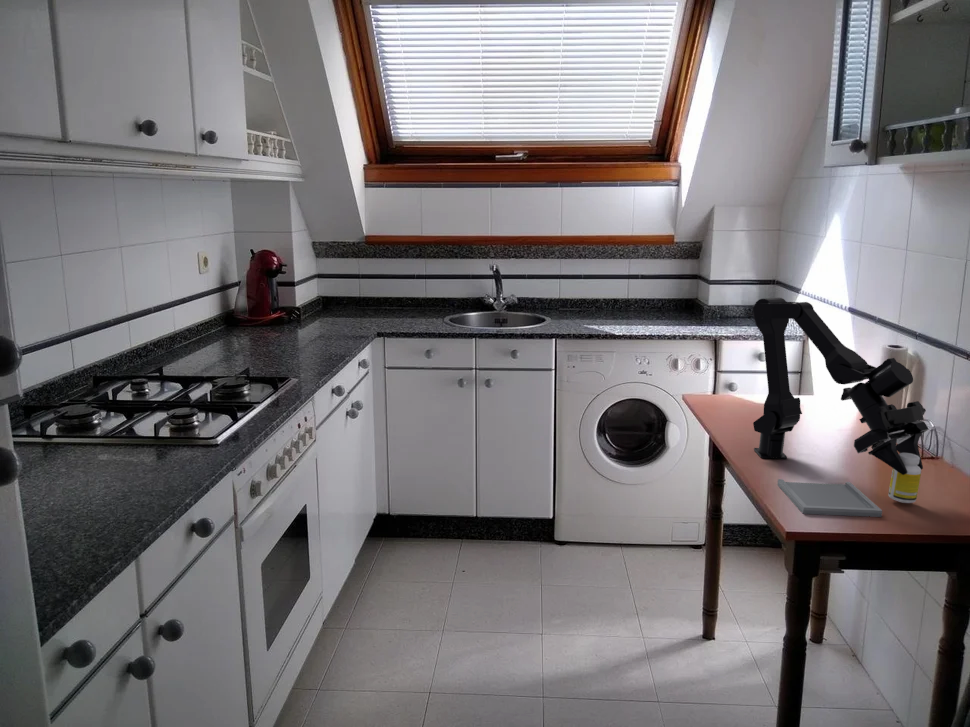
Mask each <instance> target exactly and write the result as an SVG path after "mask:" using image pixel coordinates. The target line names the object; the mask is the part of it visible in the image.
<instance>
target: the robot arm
mask: <svg viewBox="0 0 970 727" xmlns="http://www.w3.org/2000/svg"><path fill="white" fill-rule="evenodd" d="M752 314H753V319H754V322H755V326H756V327H757V329H758V330H759V332H760V333H761V334H762V340H763V350H764V359H765V369H766V379H767V380H766V381H767V389H768V390H767V391H768V393H767V396H766V399H765V401H764V403H763V415H761V416H760V417H758V418H757V419H756V420H754V421H753V423H752V424H753V430H754V432H757V433H760V436H759V444H758V447H754V448H753V450H754V452H755V453H756V454H757V455H758V456H759V457H760V458H762V459H776V460H777V459H778V460H782V459H783V460H787V459H788V456H787V455H786V454H785V453H784V446H785V445H784V444H785V437H786V433H788V432H792V431H793V429H794V427H795V426H796V425H797V424H798V423H799V422H800V421H801V420H800V419H801V415H802V414H803V411H802V409H801V399H800V397H794V395H793V393H792V392H791V388H790V382H789V381H790V380H789V370H788V360H787V349H786V338H785V332H786V330H787V326H788V324H789V322H790V319H792V320H794V321H795V323H796V324H797V325H798V327H800V329H801V330H802V331H803V333H804V334H805V335H806V336H807V337H808V339H809V340H810V341H811V343H812V344H813V345H814V346H815V347H816V348H817V350H818V351H819V353H820V354H821V355H822V357H823V358H824V362H825V368H826V370H827V371H828V373H829V374H830V376H831V378H832V380H833V381H834V382H835V383H836V384H838V385H839V384H840V385H850V384H855V385H854V386H852V387H844V388H843V389H842V394H841V397H840V401H848V400H852V402H853V404H854V405H855V407H856V409H857V410H858V412H859V414H860V415H861V418H859V419H858V420H859V421H860V423H861V424H866V425H867V427H868V428H869V431H867V432H865V433H863V434H862V435H861V436H859V437H857V438H856V439H854V441H853V447H854V449H855V451H856V452H857V454H862V453H867V454H868V455H871V456H873V457H875V458H877V459H878V460H879V461H881V462H883V463H885V464H886V465H887V466H888V467H891V468H892V470H893V469H895V470H896V471H898V472H899V473H901V474H902V475H905V474H907V470H906V467H905V465H904V463H903V461H902V459H901V457H900V456H899V454H900V453H911V454H915V455H917V456H919V457H920V460H919V464H918V465H917V466H919V467H920V469H921V471H922V470H923V469H924V466H923V463H922V458H921V457H922V456H921V453H920V449H919V442H920V438H921V437H922V436H923V434H924V433H925V432H928V431H929V427H928V426H927V424H926V422H925V421H924V415H925V413H927V412H926V408H925V407H924V406H923V405H922V403H921V402H920V401H919V400H916V401H912V402H907V405H906V407H902V408H897V407H896V405H894V404H893V403H892V404H888V403H887V402H886V400H885V398H884V397H886V398H891V397H892V396H894V395H896V394H898V393H899V392H900V391H902V390H903V389H905V388H906V387H908V386H909V385H911V384H913V382H914V376H913V374H912V372H911V371H910V369H909V368H907V367H906V366H905V365H904V364H902V363H900V362H899V361H897V360H896V358H895V357H891V358H889V357H888V358H887V359H886V360H884V361H883V362H882V363H881V364H879V366H877V367H876V366H873V365H871V364H869V363H868V362H867V361H866V360H865V359H864V358H863V357H862V356H861V355H859V354H858V352H856V351H855V350H852V349H851V348H849V347H848V346H847V347H846V346H845V344H844V343H842V342H841V341H840V340H839V338H838V337H837V336H836V335H835V333H834V332H833V331H832V330H831V329H830V328H829V327H828V325H827V324H826V323H825V322H824V320H823V319H822V318H821V317H820V315H819V314H818V313H817V311H815V309H814V306H813V304H811V302H808V301H803V302H801V301H800V302H799V301H786V299H784V298H782V297H769V298H766V297H765V298H760V299H758V300H757V301H756V302H755V303H754V305H753V306H752ZM864 380H867V381H865V382H863V381H864ZM869 448H871V450H870V451H868V450H869Z"/></svg>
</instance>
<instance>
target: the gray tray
mask: <svg viewBox="0 0 970 727" xmlns="http://www.w3.org/2000/svg"><path fill="white" fill-rule="evenodd" d="M777 486H778V488H779V489H780V490H781V491H782V492H783V493H784V494H785V496H787V497H788V500H790V501H791V502H792V503H793V505H795V507H796V508H797V509H798V510H799V511H800V512H801V513H802V514H805V515H823V516H824V515H828V516H849V517H850V516H851V517H869V516H870V517H872V518H876V517H877V518H883V517H882V515H883V510H882V508H880V507H879V506H878V505H877V504H876V503H874V501H872V500H871V499H870V498H869V497H867V495H865V494H864V493H863V492H862V491H861V490H860V489H859V488H857V487H856V486H855V485H854V484H853V483H852V482H850V481H845V482H844V483H820V482H800V481H799V482H795V481H794V482H793V481H785V480H784V479H783V478H778V479H777ZM870 517H869V518H870Z"/></svg>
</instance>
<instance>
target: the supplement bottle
mask: <svg viewBox="0 0 970 727" xmlns="http://www.w3.org/2000/svg"><path fill="white" fill-rule="evenodd" d="M898 454H899V456H900V457H901V459H902V461H903V463H904V465H905V467H906V470H907V474H905V475H902V474H901V473H899V472H898V471H896V470H895V469H893V468H892V471H891V475H890V476H891V477H890V482H889V487H888V497H889V498H890V499H891V500H893V501H896V502H899V503H903V504H912V503H913V504H914V503H915V502H916V501H917V498H918V494H919V493H918V491H919V489H920V488H919V486H920V480H921V476H922V470H921V469H920V467H919V466H917V465H918V464H919V460H920V457H921V456H920V457H919V456H917V455H915V454H911V453H898Z"/></svg>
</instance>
